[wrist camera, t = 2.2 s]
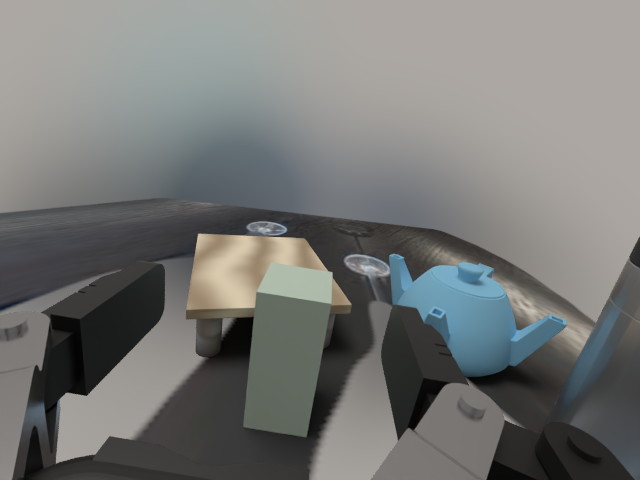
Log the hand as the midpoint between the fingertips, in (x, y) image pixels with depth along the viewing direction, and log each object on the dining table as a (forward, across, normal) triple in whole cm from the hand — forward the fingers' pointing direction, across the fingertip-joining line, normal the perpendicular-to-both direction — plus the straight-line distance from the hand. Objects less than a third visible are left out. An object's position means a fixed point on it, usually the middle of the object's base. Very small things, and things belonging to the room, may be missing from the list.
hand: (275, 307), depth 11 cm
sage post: (+12, 0, +16) cm, 20 cm away
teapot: (+25, -19, +16) cm, 35 cm away
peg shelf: (+26, +5, +16) cm, 31 cm away
